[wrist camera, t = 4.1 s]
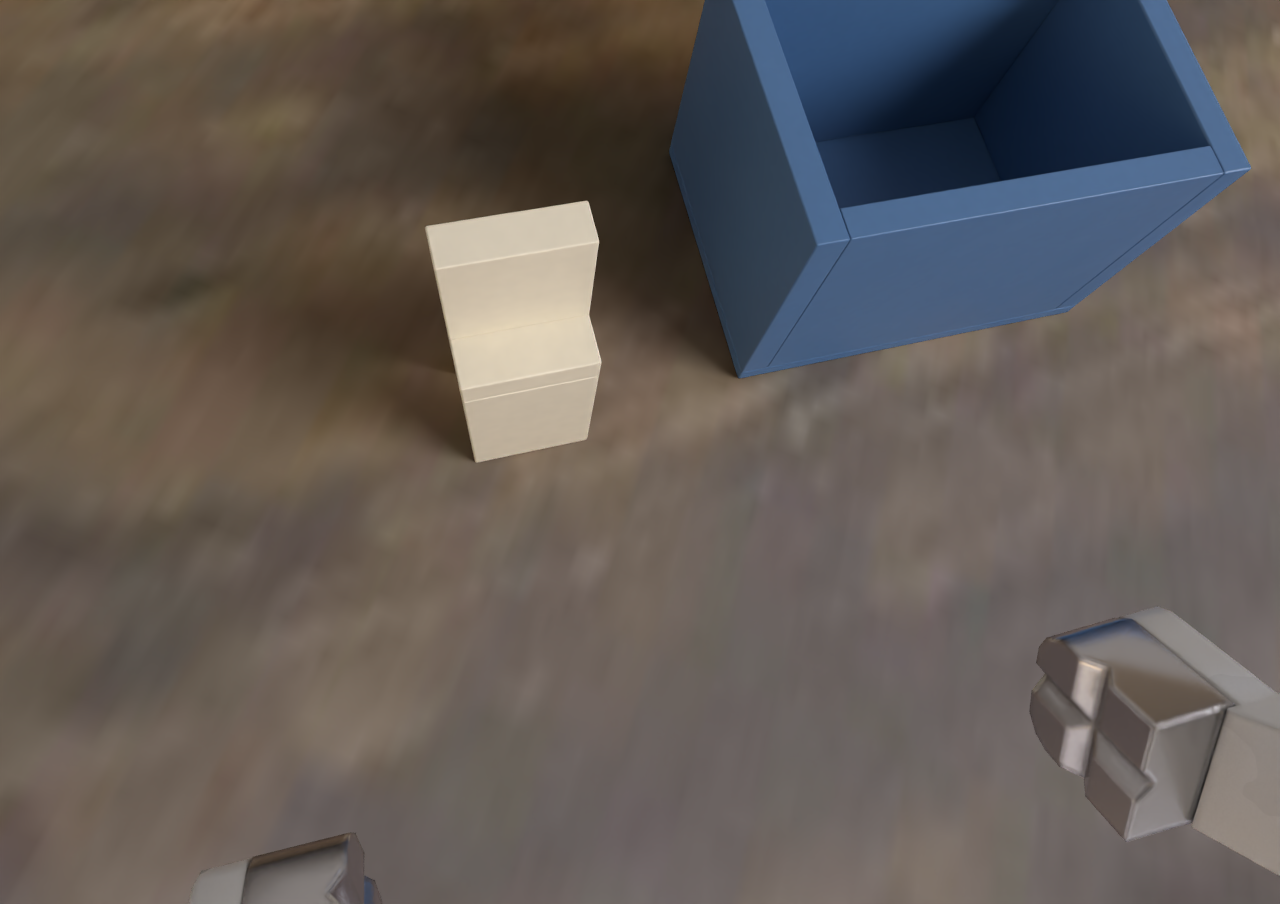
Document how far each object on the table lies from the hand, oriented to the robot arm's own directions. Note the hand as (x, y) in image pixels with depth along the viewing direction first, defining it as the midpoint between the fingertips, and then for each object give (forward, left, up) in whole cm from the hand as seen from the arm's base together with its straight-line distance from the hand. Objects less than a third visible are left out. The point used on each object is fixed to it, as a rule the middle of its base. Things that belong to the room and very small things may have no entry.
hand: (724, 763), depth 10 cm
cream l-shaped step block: (-4, +11, -19) cm, 23 cm away
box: (+9, +20, -19) cm, 29 cm away
